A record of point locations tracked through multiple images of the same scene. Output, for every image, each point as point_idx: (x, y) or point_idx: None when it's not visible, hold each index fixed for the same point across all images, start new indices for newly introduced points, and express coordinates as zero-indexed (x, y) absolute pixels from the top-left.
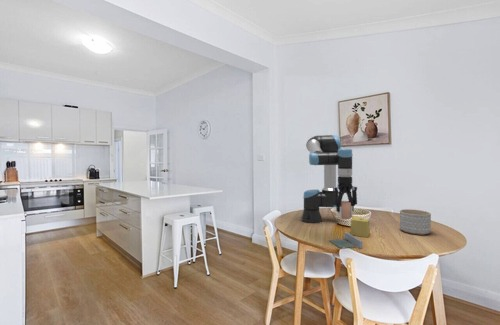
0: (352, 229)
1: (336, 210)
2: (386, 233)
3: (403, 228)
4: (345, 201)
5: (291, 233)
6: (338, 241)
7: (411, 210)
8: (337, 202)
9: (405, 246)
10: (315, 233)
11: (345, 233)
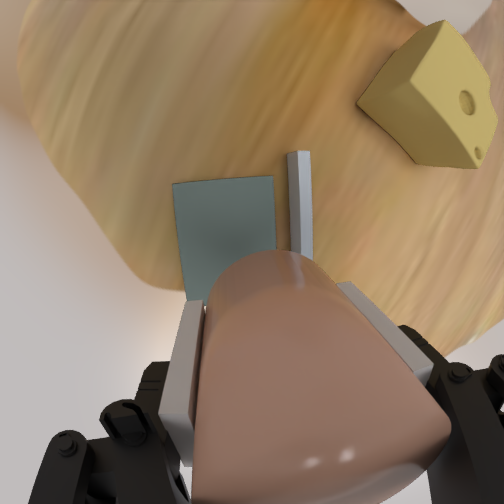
0: (378, 108)
1: (144, 375)
2: (493, 141)
3: None
4: (377, 467)
5: (30, 67)
6: (216, 218)
7: None
8: (132, 498)
9: (462, 291)
10: (145, 48)
11: (296, 167)
